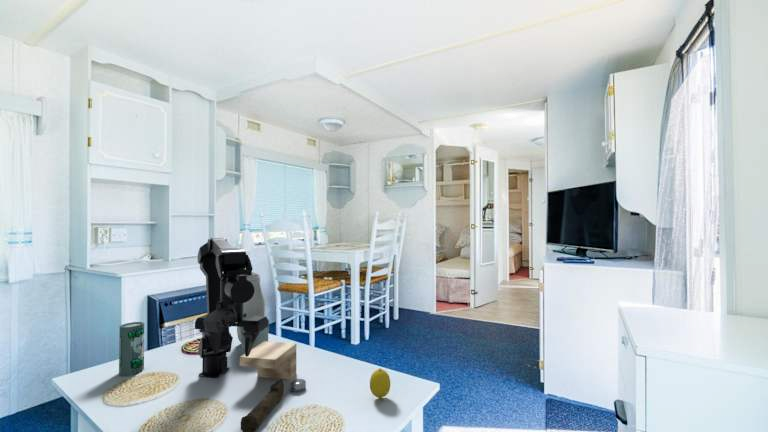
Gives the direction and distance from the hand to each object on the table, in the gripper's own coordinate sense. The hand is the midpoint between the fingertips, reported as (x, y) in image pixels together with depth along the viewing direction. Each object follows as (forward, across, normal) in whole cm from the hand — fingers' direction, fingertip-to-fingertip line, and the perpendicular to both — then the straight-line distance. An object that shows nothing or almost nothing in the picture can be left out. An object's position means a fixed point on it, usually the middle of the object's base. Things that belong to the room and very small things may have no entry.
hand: (231, 354), depth 91 cm
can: (+12, -43, +10) cm, 46 cm away
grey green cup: (+12, -12, +30) cm, 35 cm away
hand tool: (+12, +12, -3) cm, 17 cm away
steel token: (+12, +15, +9) cm, 21 cm away
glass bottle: (+12, -20, +40) cm, 46 cm away
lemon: (+12, +39, +8) cm, 42 cm away
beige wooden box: (+12, +5, +11) cm, 17 cm away
